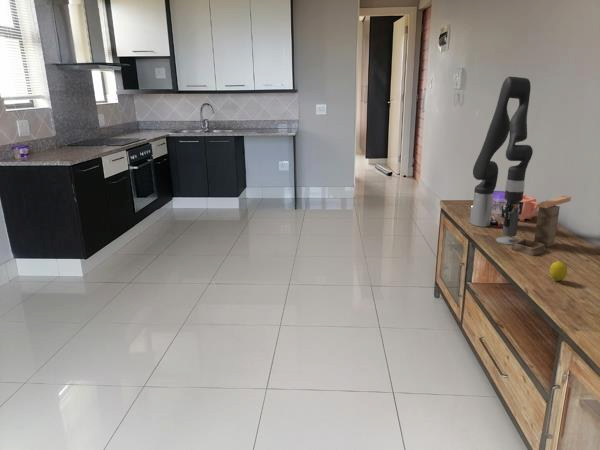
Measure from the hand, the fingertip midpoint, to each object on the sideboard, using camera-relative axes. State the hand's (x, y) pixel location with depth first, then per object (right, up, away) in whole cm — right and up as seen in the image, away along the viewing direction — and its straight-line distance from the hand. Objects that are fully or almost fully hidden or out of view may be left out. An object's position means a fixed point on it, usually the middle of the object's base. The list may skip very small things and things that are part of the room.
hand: (510, 225), depth 204 cm
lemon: (-2, -21, -41) cm, 46 cm away
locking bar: (+18, +10, -5) cm, 21 cm away
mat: (0, -8, +2) cm, 8 cm away
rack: (+8, -10, -6) cm, 14 cm away
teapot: (+23, +3, +38) cm, 45 cm away
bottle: (0, -5, +1) cm, 5 cm away
